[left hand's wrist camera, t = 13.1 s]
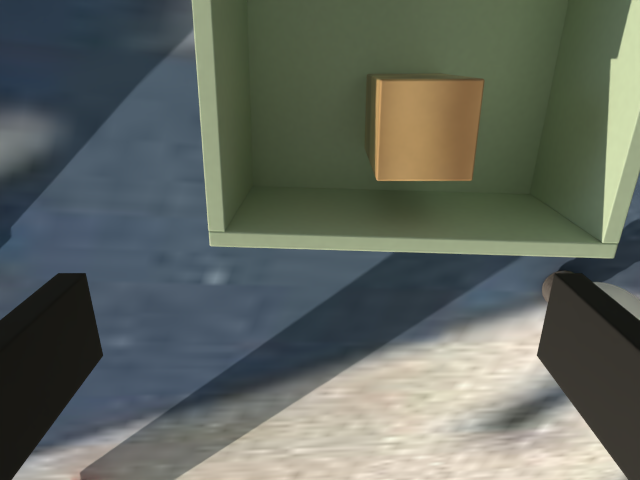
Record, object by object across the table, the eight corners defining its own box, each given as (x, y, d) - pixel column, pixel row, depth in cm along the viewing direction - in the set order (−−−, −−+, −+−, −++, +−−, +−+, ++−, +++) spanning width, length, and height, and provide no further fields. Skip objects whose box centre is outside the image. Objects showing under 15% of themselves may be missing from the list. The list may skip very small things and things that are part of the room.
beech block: (364, 149, 29) (376, 181, 21) (366, 73, 27) (380, 79, 19) (435, 149, 28) (473, 181, 21) (442, 73, 27) (485, 78, 19)
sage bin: (244, 192, 31) (209, 246, 22) (230, -140, 24) (172, -256, 15) (532, 201, 31) (614, 259, 22) (602, -133, 24) (761, -246, 15)
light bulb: (513, 292, 44) (569, 362, 34) (568, 242, 42) (645, 300, 32) (559, 330, 45) (626, 408, 35) (615, 283, 43) (703, 352, 33)
